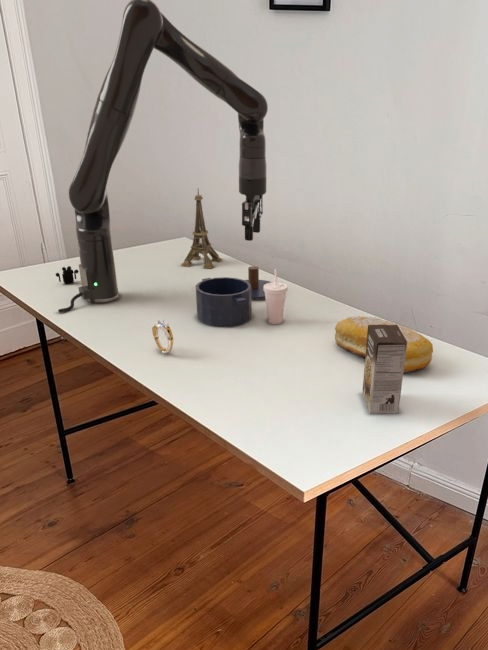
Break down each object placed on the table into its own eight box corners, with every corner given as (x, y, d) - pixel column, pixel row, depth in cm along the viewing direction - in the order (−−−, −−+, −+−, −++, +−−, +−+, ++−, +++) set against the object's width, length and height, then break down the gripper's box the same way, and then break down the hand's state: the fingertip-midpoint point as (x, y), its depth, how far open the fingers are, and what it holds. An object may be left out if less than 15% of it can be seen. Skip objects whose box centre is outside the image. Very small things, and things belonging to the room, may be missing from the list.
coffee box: (360, 394, 150) (367, 324, 141) (389, 393, 150) (397, 323, 141) (368, 414, 142) (375, 341, 133) (399, 413, 143) (408, 341, 134)
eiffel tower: (180, 265, 223) (175, 183, 208) (192, 256, 231) (188, 177, 217) (211, 269, 220) (207, 186, 206) (222, 259, 229) (219, 179, 214)
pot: (218, 334, 176) (217, 302, 171) (184, 310, 190) (181, 280, 185) (266, 323, 183) (266, 292, 178) (229, 300, 196) (229, 271, 192)
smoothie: (288, 317, 186) (289, 266, 178) (285, 326, 181) (286, 274, 173) (264, 316, 187) (264, 265, 179) (261, 325, 182) (261, 273, 174)
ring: (177, 355, 165) (174, 324, 160) (165, 359, 163) (162, 327, 159) (163, 346, 170) (160, 315, 165) (151, 349, 168) (148, 318, 163)
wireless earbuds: (79, 280, 210) (76, 263, 207) (82, 282, 208) (79, 266, 205) (56, 284, 206) (53, 267, 203) (59, 286, 205) (56, 270, 202)
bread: (407, 382, 155) (411, 349, 150) (321, 347, 170) (323, 316, 166) (441, 364, 163) (446, 333, 158) (356, 332, 178) (359, 303, 174)
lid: (244, 304, 194) (243, 279, 190) (217, 288, 205) (217, 264, 201) (290, 295, 201) (290, 270, 197) (262, 280, 212) (262, 256, 208)
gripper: (245, 169, 191) (246, 228, 200) (232, 178, 179) (233, 241, 189) (271, 170, 190) (271, 230, 199) (259, 180, 178) (259, 244, 187)
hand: (252, 236), depth 194 cm, fingers open, 8 cm apart
